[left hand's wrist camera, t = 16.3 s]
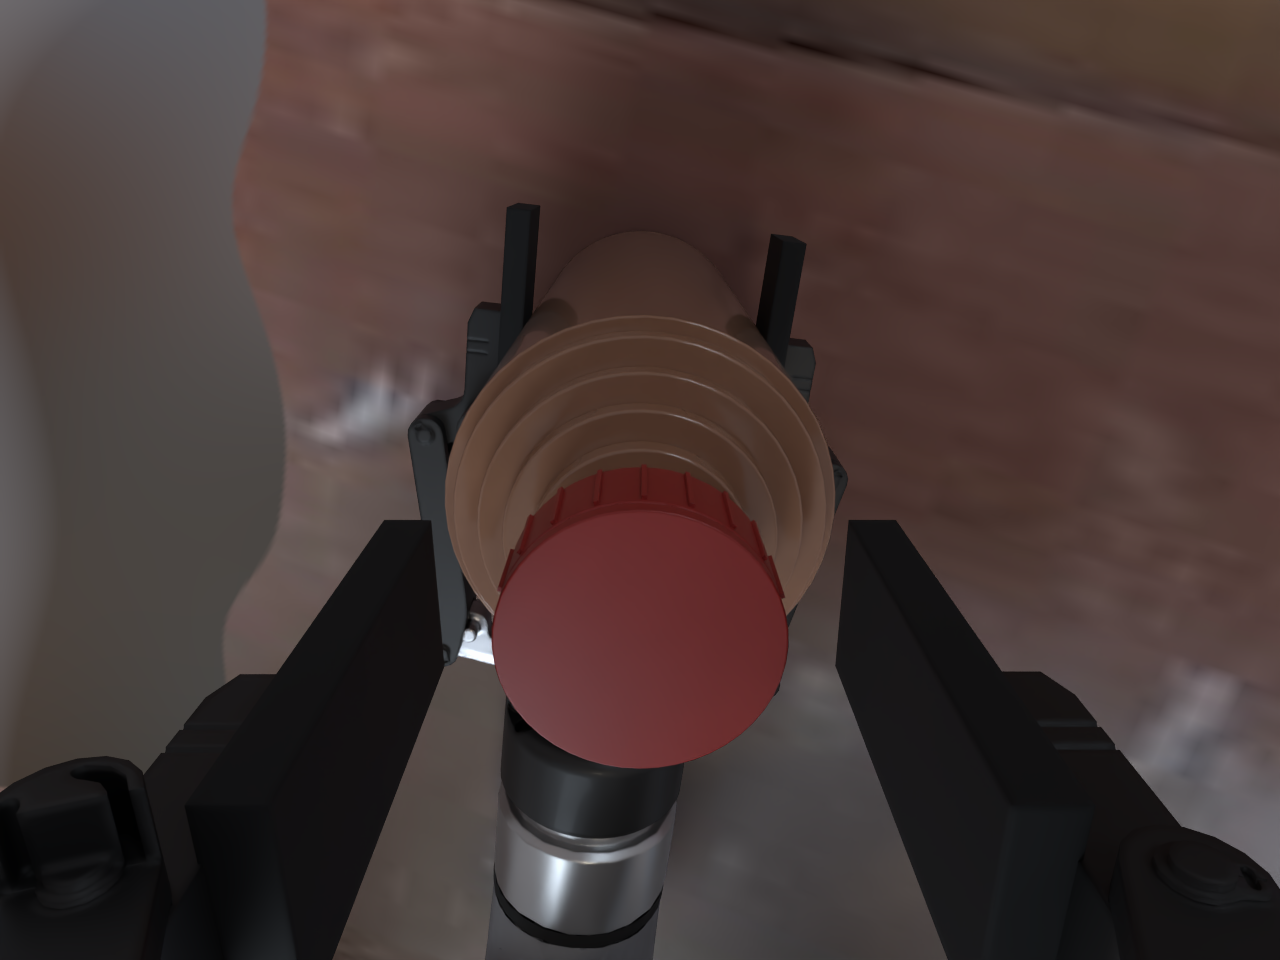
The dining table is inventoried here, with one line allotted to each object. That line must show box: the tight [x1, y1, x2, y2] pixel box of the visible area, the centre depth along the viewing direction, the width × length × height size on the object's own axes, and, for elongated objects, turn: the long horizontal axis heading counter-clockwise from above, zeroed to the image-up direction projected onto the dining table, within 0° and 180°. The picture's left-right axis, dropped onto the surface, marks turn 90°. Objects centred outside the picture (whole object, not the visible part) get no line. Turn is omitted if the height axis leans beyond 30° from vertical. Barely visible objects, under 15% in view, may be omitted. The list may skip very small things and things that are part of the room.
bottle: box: [445, 231, 835, 616], centre depth 25 cm, size 8×8×24 cm
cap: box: [491, 464, 788, 769], centre depth 14 cm, size 4×4×2 cm
